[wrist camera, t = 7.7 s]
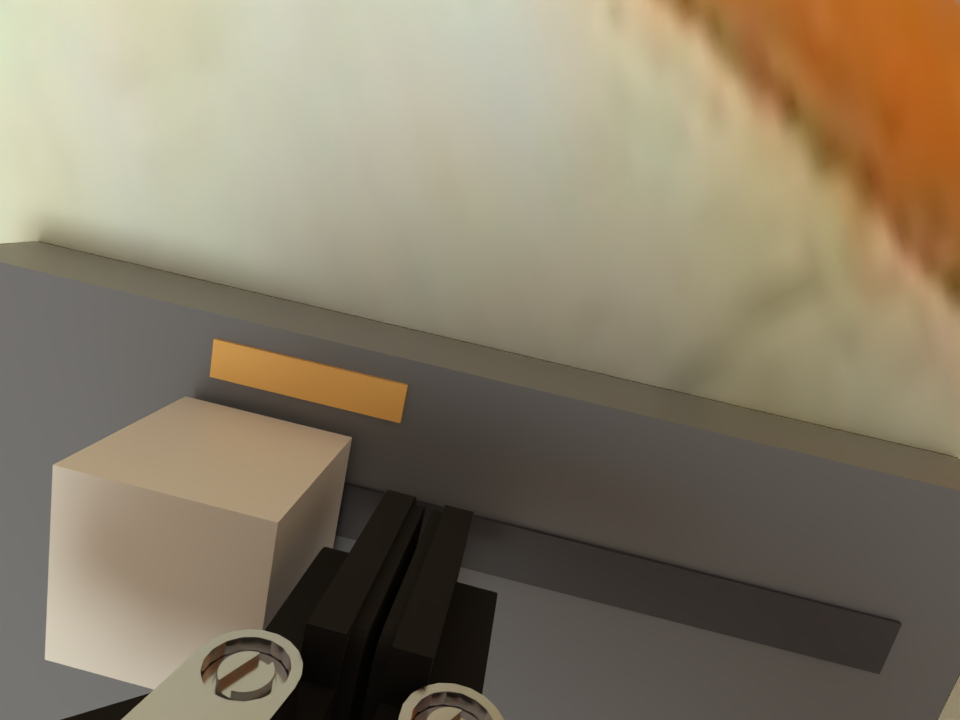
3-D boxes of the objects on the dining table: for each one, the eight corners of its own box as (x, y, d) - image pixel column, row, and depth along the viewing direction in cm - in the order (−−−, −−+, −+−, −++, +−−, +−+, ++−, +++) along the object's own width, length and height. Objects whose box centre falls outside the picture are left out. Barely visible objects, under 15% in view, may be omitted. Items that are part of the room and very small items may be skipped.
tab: (352, 437, 13) (277, 522, 9) (326, 587, 13) (249, 715, 10) (185, 396, 13) (52, 465, 9) (170, 547, 14) (44, 659, 10)
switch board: (957, 457, 14) (1044, 512, 12) (744, 937, 18) (776, 1056, 15) (36, 241, 15) (-65, 248, 13) (21, 733, 19) (-59, 812, 17)
